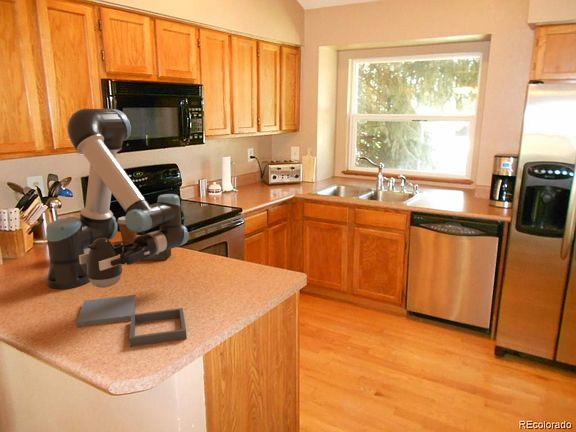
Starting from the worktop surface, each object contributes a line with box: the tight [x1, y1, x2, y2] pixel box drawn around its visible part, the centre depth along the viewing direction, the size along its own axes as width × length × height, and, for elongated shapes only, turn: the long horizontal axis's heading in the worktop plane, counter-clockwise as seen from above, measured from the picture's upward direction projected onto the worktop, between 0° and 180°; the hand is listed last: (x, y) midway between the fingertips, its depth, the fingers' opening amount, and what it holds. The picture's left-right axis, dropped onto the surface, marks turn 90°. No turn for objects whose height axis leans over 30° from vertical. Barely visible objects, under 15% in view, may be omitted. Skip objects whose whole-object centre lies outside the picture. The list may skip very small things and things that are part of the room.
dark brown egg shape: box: [87, 238, 123, 289], centre depth 135 cm, size 10×10×15 cm
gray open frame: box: [128, 307, 187, 348], centre depth 127 cm, size 15×15×2 cm
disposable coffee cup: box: [116, 215, 138, 244], centre depth 212 cm, size 10×10×12 cm
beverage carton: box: [123, 249, 172, 261], centre depth 190 cm, size 8×19×7 cm, turn 91°
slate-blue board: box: [76, 294, 137, 328], centre depth 138 cm, size 16×16×2 cm
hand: (89, 262), depth 131 cm, fingers closed on dark brown egg shape, 9 cm apart
